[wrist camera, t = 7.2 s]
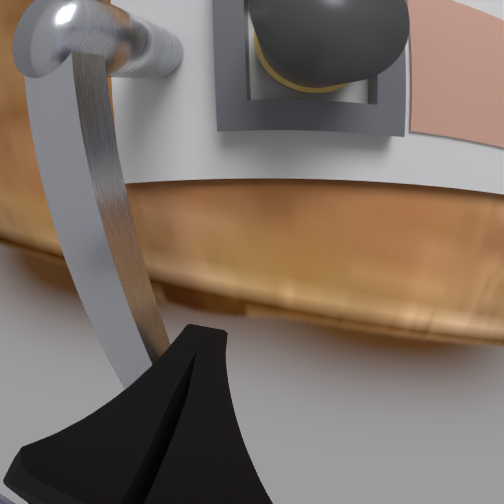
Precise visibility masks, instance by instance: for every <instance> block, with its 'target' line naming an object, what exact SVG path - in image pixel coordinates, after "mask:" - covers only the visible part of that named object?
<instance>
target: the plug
mask: <svg viewBox="0 0 504 504" xmlns="http://www.w3.org/2000/svg"><path fill="white" fill-rule="evenodd" d="M249 12H250V18H251V21H252V24H253V27H254V45H255V50H256V53H257V56H258V58H259V60H260V62H261V64H262V66H263V67H264V69H265V70H266V71H267V72H268V74H269V75H270V76H271V77H272V78H273V79H275V80H276V81H277V82H279V83H280V84H282V85H284V86H285V87H287V88H290V89H292V90H295V91H299V92H304V93H325V92H330V91H334V90H337V89H340V88H342V87H344V86H346V85H347V84H349V83H351V82H356V81H361V80H365V79H368V78H371V77H373V76H376V75H378V74H380V73H381V72H383V71H385V70H386V69H388V68H389V67H390V66H391V65H392V64H393V63H394V62H395V61H396V60H397V59H398V58H399V56H400V55H401V53H402V52H403V50H404V48H405V46H406V43H407V40H408V36H409V29H410V20H409V12H408V8H407V5H406V2H405V0H249Z"/></svg>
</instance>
